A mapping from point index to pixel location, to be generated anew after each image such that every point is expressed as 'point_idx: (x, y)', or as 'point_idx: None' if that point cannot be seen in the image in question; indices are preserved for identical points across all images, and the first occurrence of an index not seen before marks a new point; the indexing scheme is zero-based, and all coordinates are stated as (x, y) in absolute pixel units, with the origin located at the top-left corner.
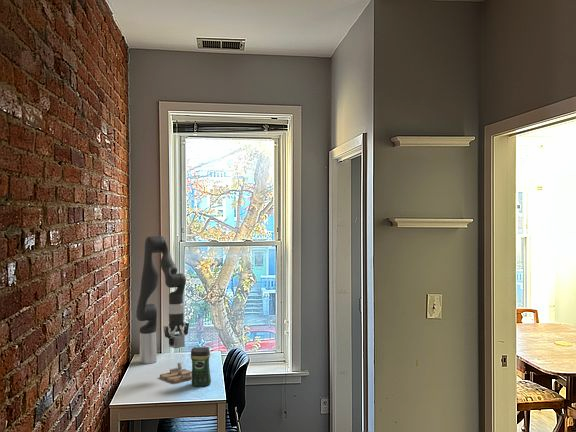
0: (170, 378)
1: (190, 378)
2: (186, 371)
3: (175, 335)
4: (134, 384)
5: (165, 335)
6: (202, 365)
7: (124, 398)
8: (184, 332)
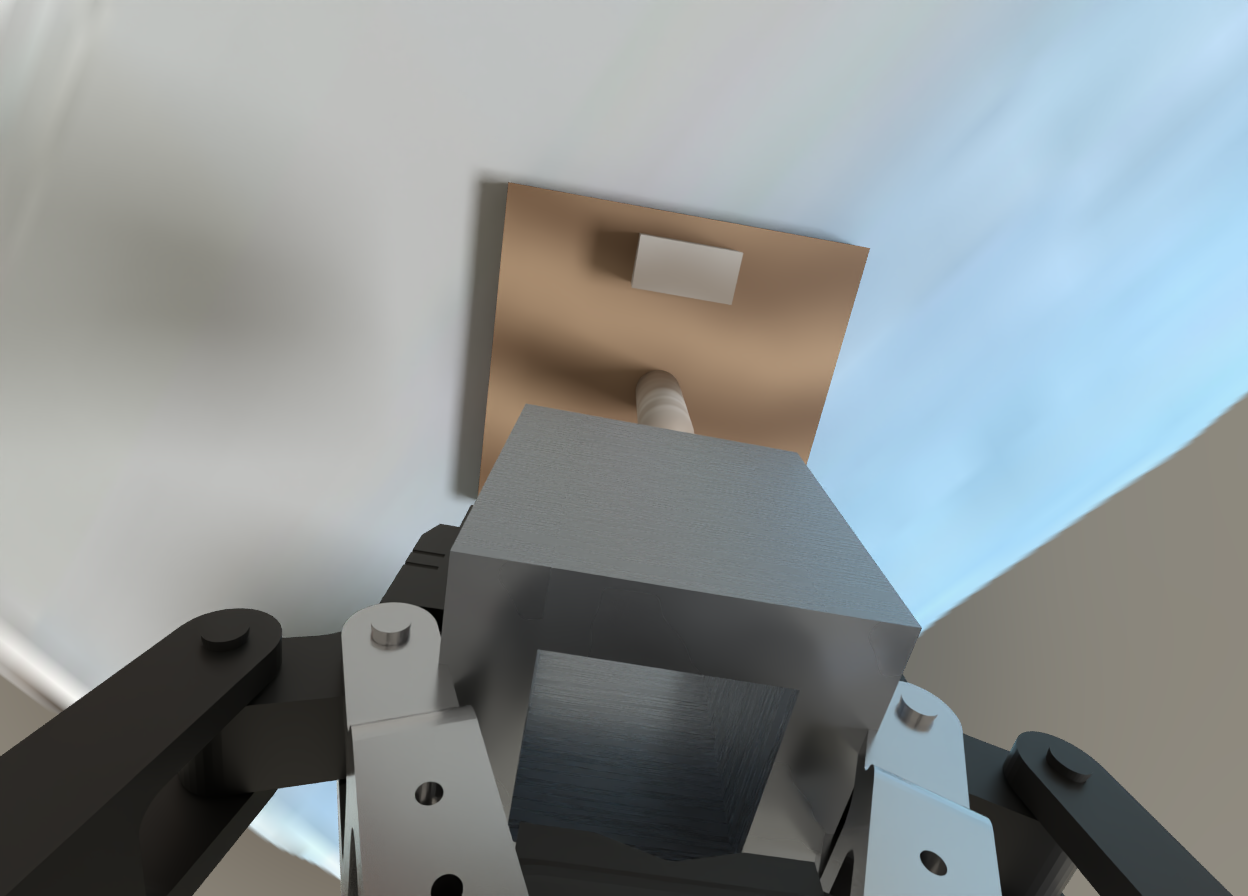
0: (495, 418)
1: None
2: (793, 360)
3: (690, 647)
4: (151, 148)
5: (148, 689)
6: None
7: None
8: (1010, 845)
